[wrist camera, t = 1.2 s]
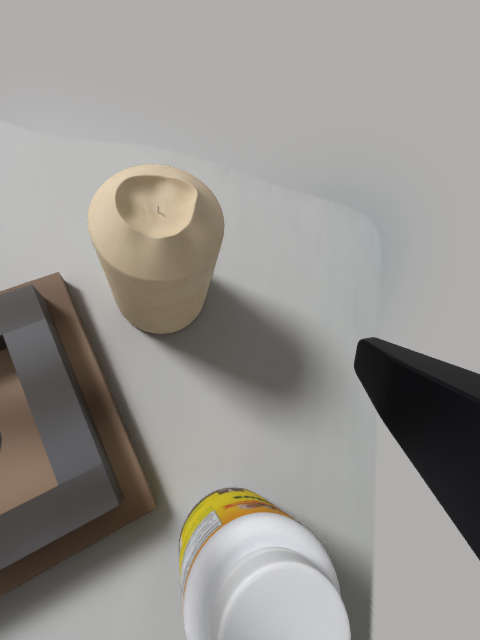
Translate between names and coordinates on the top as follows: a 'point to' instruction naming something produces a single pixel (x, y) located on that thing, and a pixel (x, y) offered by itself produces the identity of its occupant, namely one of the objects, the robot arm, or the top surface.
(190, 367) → the top surface
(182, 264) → the candle
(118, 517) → the socket
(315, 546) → the supplement bottle
